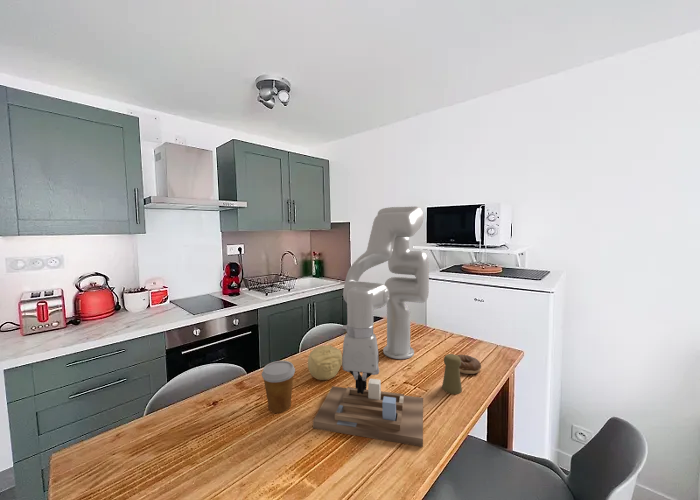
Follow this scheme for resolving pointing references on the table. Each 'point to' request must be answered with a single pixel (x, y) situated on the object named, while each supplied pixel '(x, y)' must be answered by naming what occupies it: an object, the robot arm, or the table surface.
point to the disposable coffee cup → (278, 385)
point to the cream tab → (374, 389)
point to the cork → (452, 374)
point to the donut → (469, 364)
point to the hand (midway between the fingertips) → (361, 390)
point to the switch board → (371, 416)
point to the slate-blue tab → (389, 408)
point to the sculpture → (324, 362)
